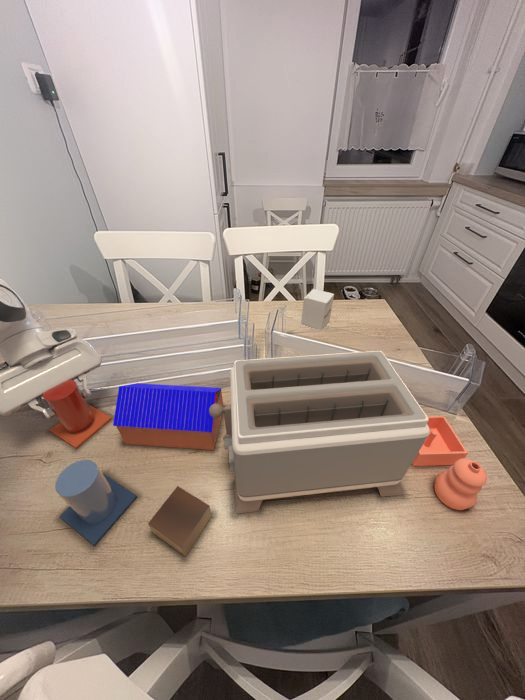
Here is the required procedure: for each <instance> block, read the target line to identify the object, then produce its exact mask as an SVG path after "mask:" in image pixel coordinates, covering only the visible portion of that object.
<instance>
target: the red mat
mask: <svg viewBox="0 0 525 700" xmlns="http://www.w3.org/2000/svg"><path fill="white" fill-rule="evenodd" d="M87 404H88V405H89V407H90V409H91V411H92V413H93V420H92V422H91V423H90V424H89V425H88V426H87V427H85V428H83V429H81V430H79V431H74V432H70V431H67V430H65V429H64V427H63V426H62V424H61V423H60V422H58V423H57V424H56V425H55V426H52V428H50V429H49V432H51V433H52V434H54V435H55V436H56V437H58V438H60V439H61V440H63V441H64V442H66V444H68V445H70V446H71V447H73V448H74V449H78V448H79V447H81V446H82V445H83V444H84V443H86V441H88V440H89V439H90V438H92V436H94V435H95V434H96V433H98V431H100V430H101V429H103V427H104V426H105V425H106V424H108V423H109V422H110V421H111V420H113V418H112V417H111V416H110V415H108V414H106V413H104V411H101V410H99V409H97V408H95V407H94V406H92V405H90V404H89V403H87Z"/></svg>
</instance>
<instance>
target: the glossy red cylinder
mask: <svg viewBox="0 0 525 700" xmlns="http://www.w3.org/2000/svg"><path fill="white" fill-rule="evenodd" d="M80 390H81V389H80V387H79V385H78V384H77V382H76V381H75V380H71V379H68V380H66V381H65V382H63V383H61V384H59V385H57V386H55V387H53V388H51V389H49V390H47V391H45V392H43V397H42V398H43V399H44V401H45V402H46V404H47V406H49V407H50V408H51V409H52V411H54V413H55V415H54V416H55V417H56V419H57V420H58V421H59V423H61V424H62V426H63V427H64V429H65V430H67V431H70V432H74V431H79V430H81V429H83V428H85V427H87V426H88V425H89V424H90V423H91V422H92V420H93V413H92V411H91V409H90V407H89V405H90V404H89V403H88V402H87V400H86V397H85V398H84V396H83V395H82V393H81V391H80ZM88 404H89V405H88ZM49 407H48V408H49Z"/></svg>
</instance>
